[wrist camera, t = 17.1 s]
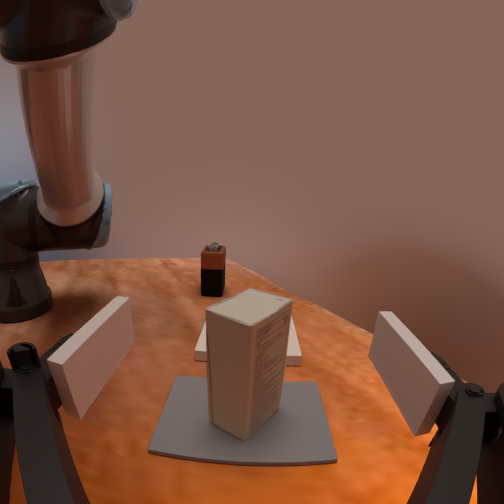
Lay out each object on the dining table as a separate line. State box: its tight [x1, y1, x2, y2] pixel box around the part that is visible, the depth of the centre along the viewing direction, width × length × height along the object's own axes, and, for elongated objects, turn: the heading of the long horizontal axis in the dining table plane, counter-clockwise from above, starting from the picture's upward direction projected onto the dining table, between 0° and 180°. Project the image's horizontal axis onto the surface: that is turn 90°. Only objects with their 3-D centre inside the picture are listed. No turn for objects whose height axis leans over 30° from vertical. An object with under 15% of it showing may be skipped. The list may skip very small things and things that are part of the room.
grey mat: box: [148, 375, 338, 466], centre depth 25 cm, size 16×12×1 cm
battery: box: [201, 243, 226, 296], centre depth 61 cm, size 4×7×10 cm, turn 1°
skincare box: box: [206, 288, 293, 440], centre depth 24 cm, size 6×4×12 cm
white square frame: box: [195, 316, 302, 366], centre depth 42 cm, size 13×13×2 cm
